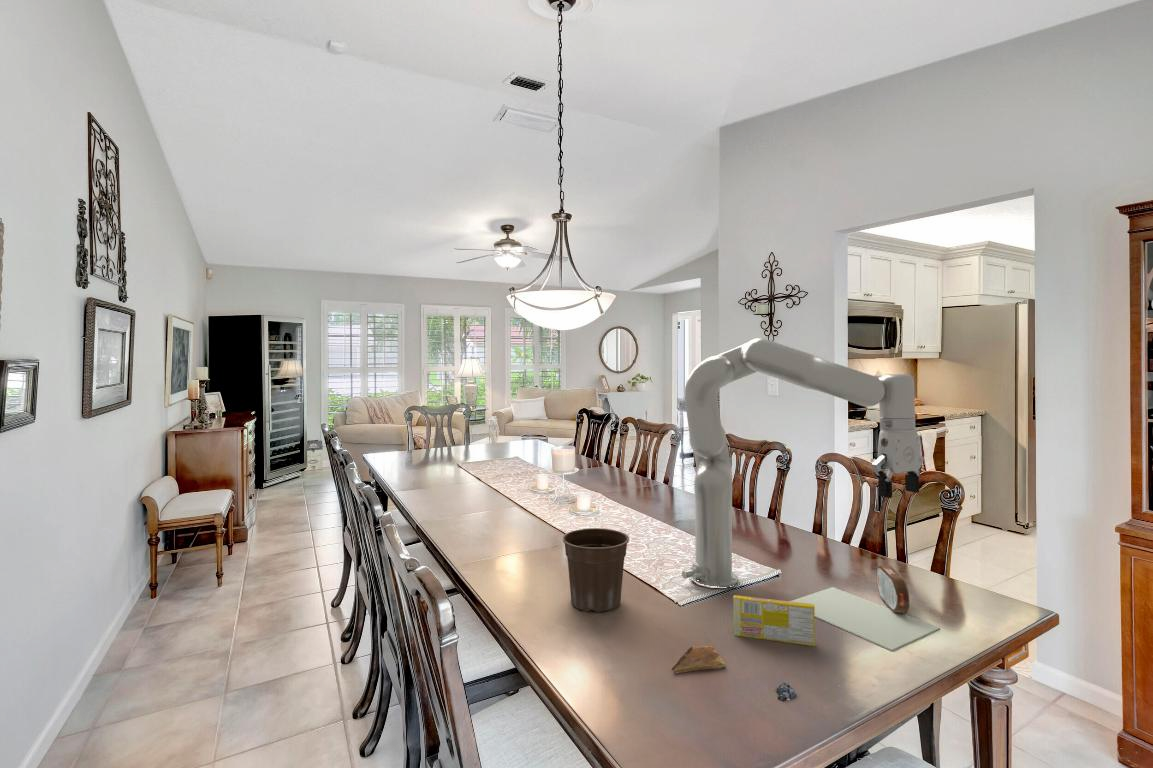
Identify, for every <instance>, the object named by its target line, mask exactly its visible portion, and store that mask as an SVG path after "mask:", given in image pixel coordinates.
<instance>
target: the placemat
mask: <svg viewBox="0 0 1153 768" xmlns="http://www.w3.org/2000/svg"><path fill="white" fill-rule="evenodd" d="M790 602H799V603H808V604H814V606H815V618H816V619H818V620H821V621H823V622H824V623H828V624H830V625H831V626H834V627H836V628H838V627H839V628H838V629H841V630H843V631H845V632H847V631H848V633H849V634H852V635H854V636H857V637H858V638H861V639H863V640H866V641H868V642H870V643H872V644H875V645H877V646H880V647H881V648H884V649H886V650H887V651H890V652H893V651H895V650H898V649H900V648H901V647H904V646H906V645H908V644H910V643H913V642H915V641H918V640H919V639H921V638H924V637H926V636H928V635H930V634H932V633H935V632H936V630H937V631H938V629H939V630H940V629H941V627H939V626H937V625H934V624H931V623H929V622H927V621H925V620H924V621H923V620H921V619H919V618H916V617H913V616H910V615H908V614H905V613H895V612H893V611H892V610H891V609H890V608H889V607H888V606H883V605H882V604H879V603H876V602H873V601H871V600H868V599H865V598H863V597H860V596H857V595H854V594H852V593H850V592H847V591H844V590H841V589H838V588H836V587H833V586H831V587H829V588H825V589H823V590H819V591H816V592H813V593H810V594H808V595H805V596H802V597H799V598H796V599H793V600H790ZM934 631H935V632H934Z"/></svg>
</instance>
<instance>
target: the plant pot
mask: <svg viewBox="0 0 1153 768" xmlns="http://www.w3.org/2000/svg"><path fill="white" fill-rule="evenodd" d="M562 542H563V543H564V551H565V556H566V558H567V569H568V570H567V571H568V581H569V591H570V602H571V604H572V605H573V606H574V607H575V608H576V609H579V610H580V611H581V610H582V611H585V612H589V611H594V612H596V613H603V612H609V611H612V610H614V609H616V608H619V606H620V605H621V600H622V590H623V589H622V588H623V577H624V566H625V557H626V556H627V546H628V543H629V542H630V537H629V535H627V534H626V533H625V532H622V531H619V530H616V529H611V528H610V529H609V528H599V527H596V528H594V527H593V528H591V527H590V528H580V529H574V530H571V531H569V532H567V533H565V534H564V535H563V536H562Z"/></svg>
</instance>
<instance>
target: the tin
mask: <svg viewBox="0 0 1153 768" xmlns="http://www.w3.org/2000/svg"><path fill="white" fill-rule="evenodd" d="M876 587H877V591H878V594H879V597H880V599H881V600H882V601H883V602H884V603H885V605H886V607H887V608H889V609H891V610H892V611H893V612H895V613H903V614H905V615H907V614H908V613H909V610H910V609H909V608H910V594H909V589H908V586H907V582H906V580H905V578H904V577H903V576H902V575H901V574H900V573H899V571H897V570H896V569H895V568H894V567H893V566H892V565H890V564H888V565H882V564H880V565H878V566H877V568H876Z"/></svg>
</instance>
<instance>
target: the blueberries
mask: <svg viewBox="0 0 1153 768" xmlns="http://www.w3.org/2000/svg"><path fill="white" fill-rule="evenodd" d="M765 689H766V690H767V687H765ZM775 693H776V694H777V695H778V696H777V700H778V701H780V702H786V701H790V700H792V699H796V698H795V697H797V695H796V691H795V690H794V688H792V687H791V686H790V684H789V683H787V682H783V683H782V684H780V685H779V687H778V686H777V687H776V688H775Z"/></svg>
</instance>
